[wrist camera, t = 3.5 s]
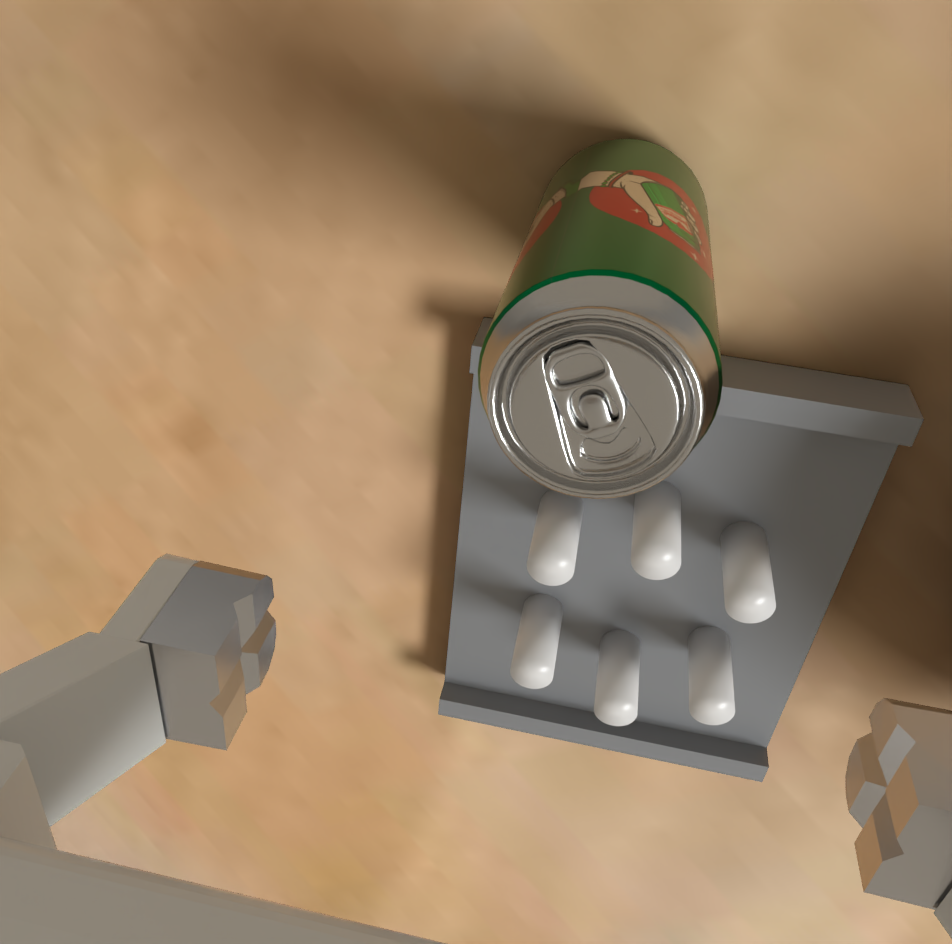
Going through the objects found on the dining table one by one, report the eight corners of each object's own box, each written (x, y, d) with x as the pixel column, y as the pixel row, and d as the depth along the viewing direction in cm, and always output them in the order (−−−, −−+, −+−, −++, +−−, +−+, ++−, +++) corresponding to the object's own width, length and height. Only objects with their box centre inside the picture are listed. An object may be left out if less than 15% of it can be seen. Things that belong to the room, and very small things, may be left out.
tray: (448, 676, 40) (424, 761, 36) (483, 317, 30) (456, 382, 26) (758, 740, 39) (767, 834, 35) (908, 385, 28) (944, 464, 24)
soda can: (575, 316, 29) (525, 537, 19) (516, 172, 27) (424, 341, 17) (727, 264, 27) (756, 480, 18) (676, 104, 25) (677, 251, 15)
